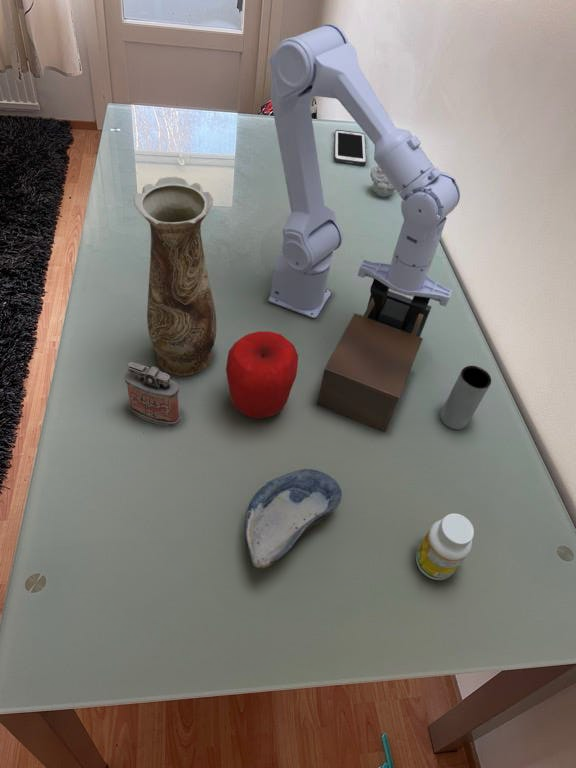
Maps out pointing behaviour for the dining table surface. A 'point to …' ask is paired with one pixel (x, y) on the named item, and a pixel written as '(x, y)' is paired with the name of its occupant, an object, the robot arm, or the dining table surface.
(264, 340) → the apple
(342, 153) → the cell phone
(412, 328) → the drawer
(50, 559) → the dining table surface
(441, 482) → the dining table surface
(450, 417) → the gray cylindrical tube
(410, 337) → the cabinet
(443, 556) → the supplement bottle
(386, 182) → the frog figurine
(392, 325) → the block
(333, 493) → the seashell
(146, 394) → the lighter
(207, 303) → the vase
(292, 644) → the dining table surface
